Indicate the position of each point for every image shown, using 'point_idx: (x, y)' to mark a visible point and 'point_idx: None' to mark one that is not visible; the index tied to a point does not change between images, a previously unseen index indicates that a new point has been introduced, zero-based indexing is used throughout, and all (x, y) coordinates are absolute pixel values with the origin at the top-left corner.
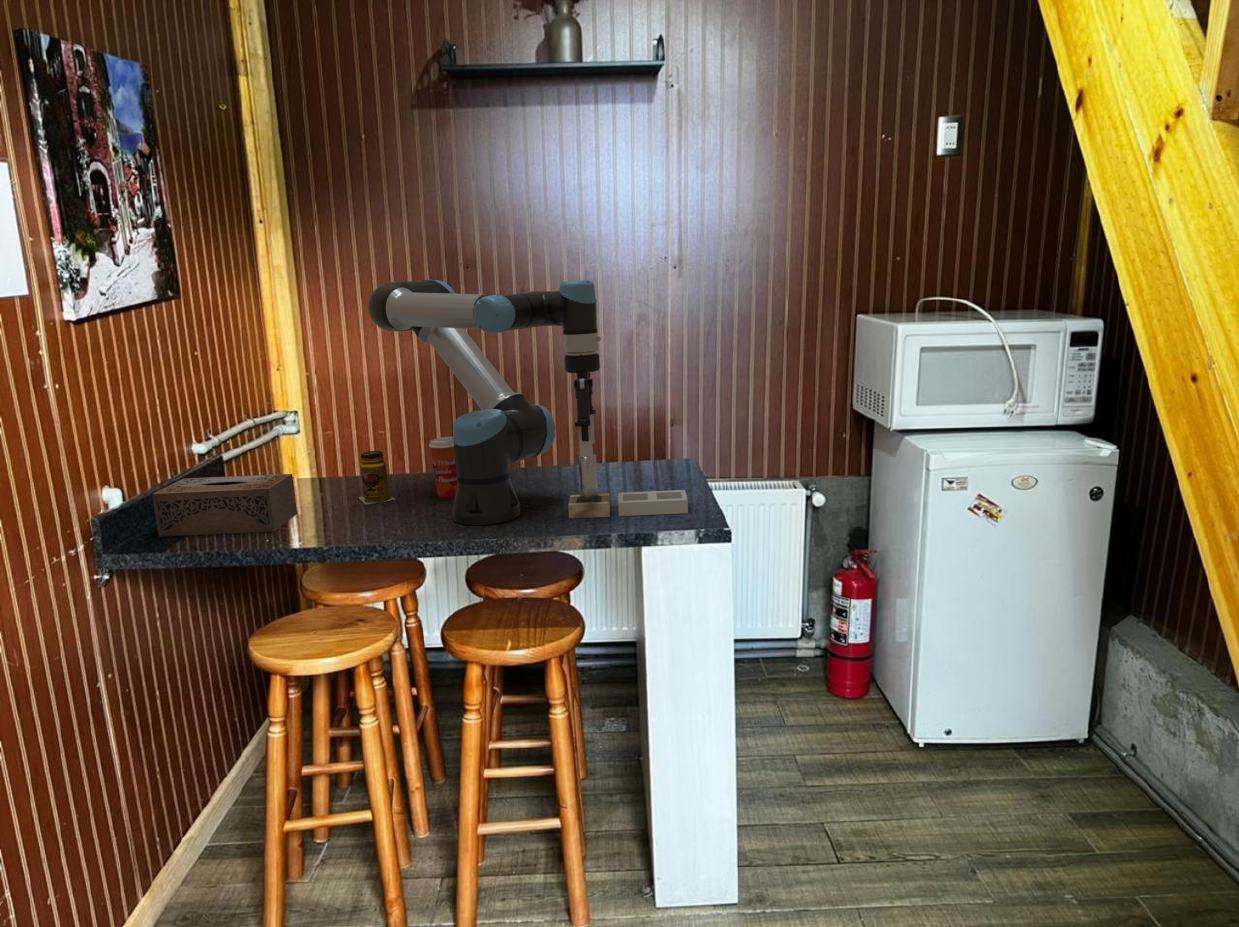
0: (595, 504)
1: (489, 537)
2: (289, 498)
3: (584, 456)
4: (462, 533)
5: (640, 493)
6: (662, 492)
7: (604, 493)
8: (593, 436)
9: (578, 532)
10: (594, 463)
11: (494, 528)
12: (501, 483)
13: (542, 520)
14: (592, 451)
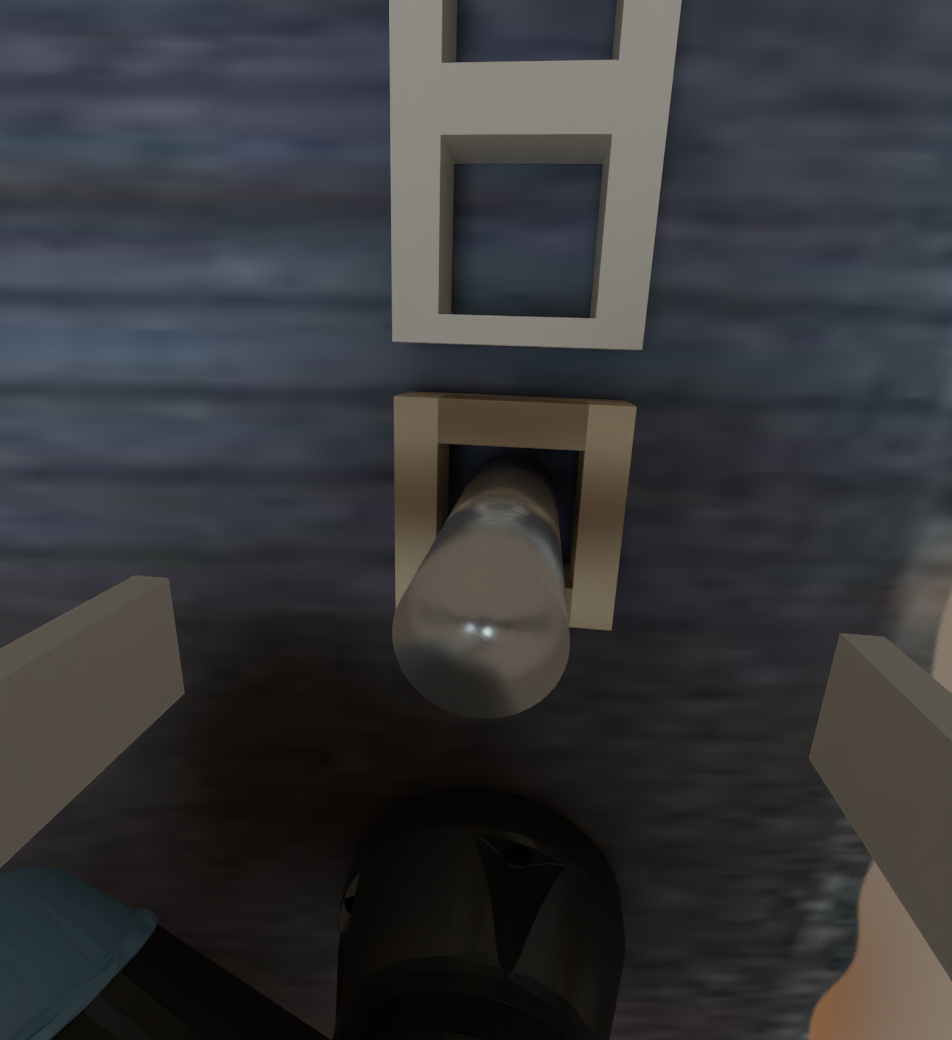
0: (626, 487)
1: (798, 896)
2: None
3: (515, 665)
4: (705, 973)
5: (433, 187)
6: (436, 8)
7: (394, 428)
8: (111, 623)
9: (865, 563)
10: (536, 552)
11: (670, 878)
12: (559, 1021)
13: (601, 709)
14: (916, 664)
